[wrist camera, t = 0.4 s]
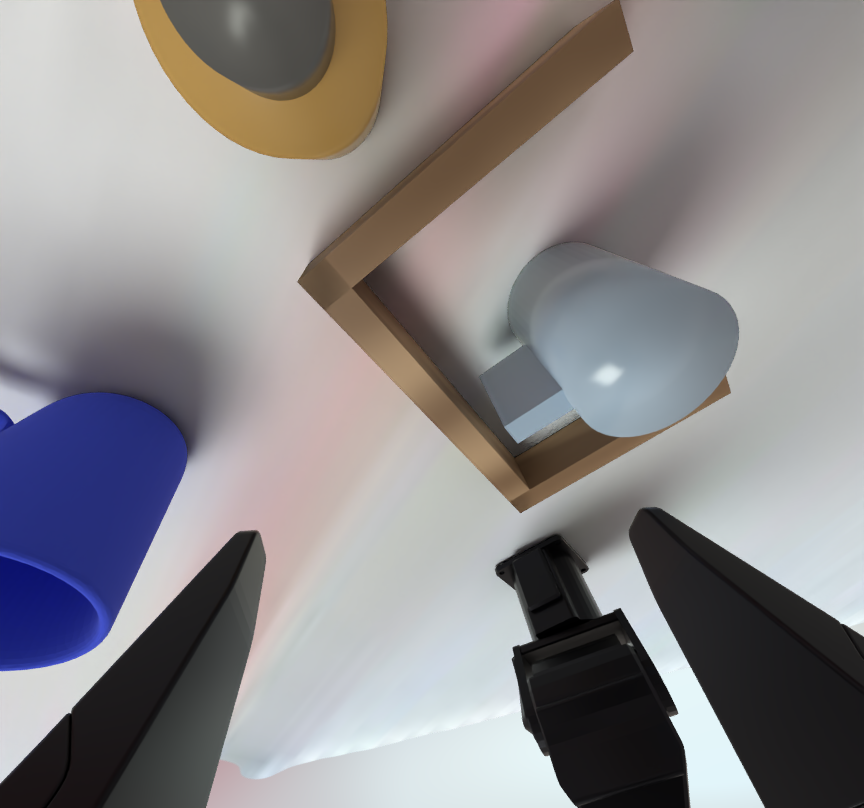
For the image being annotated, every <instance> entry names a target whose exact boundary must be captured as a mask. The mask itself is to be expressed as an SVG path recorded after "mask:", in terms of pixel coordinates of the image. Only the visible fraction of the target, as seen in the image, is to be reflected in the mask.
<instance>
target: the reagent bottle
mask: <svg viewBox="0 0 864 808" xmlns="http://www.w3.org/2000/svg"><path fill="white" fill-rule="evenodd" d="M134 4H135V7H136V10H137V13H138V16H139V19H140V22H141V25H142V28H143V30H144V32H145V35H146V37H147V39H148V41H149V44H150V46H151V48H152V50H153V52H154V54H155V56H156V58H157V59H158V61H159V63H160V65H161V67H162V69H163V70H164V72H165V73H166V75H167V76H168V78H169V79H170V81H171V82H172V84H173V85H174V87H175V88H176V89H177V91H178V92H179V93H180V94H181V96H182V97H183V98H184V99H185V100H186V102H187V103H188V104H189V105H190V106H191V107H192V108H193V109H194V110H195V111H196V112H197V113H198V114H199V115H200V117H201V118H203V119H204V120H205V121H206V122H207V123H208V124H210V125H211V126H212V127H213V128H214V129H215V130H217V131H218V132H220V133H221V134H223V135H224V136H226V137H227V138H228V139H230V140H232V141H233V142H235V143H237V144H239V145H241V146H243V147H245V148H247V149H250V150H252V151H255V152H257V153H260V154H264V155H268V156H272V157H278V158H289V159H316V160H328V159H335V158H339V157H342V156H344V155H347V154H348V153H350V152H352V151H353V150H355V149H356V148H357V147H358V146H359V145H360V144H361V143H362V142H363V141H364V140H365V139H366V137H367V136H368V134H369V133H370V131H371V129H372V127H373V125H374V123H375V120H376V117H377V114H378V110H379V105H380V98H381V90H382V82H383V73H384V65H385V57H386V48H387V12H386V0H134Z"/></svg>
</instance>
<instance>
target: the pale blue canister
mask: <svg viewBox="0 0 864 808" xmlns="http://www.w3.org/2000/svg"><path fill="white" fill-rule="evenodd" d="M508 320H509V324H510V327H511V330H512V332H513V333H514V335H515V336H516V338H517V339H518V340H519V342H520V343H521V344H522V345H523V346H522V347H521V348H519V349H518V350H516V351H515V352H513V353H512V354H510V355H509V356H508V357H506V358H505V359H503V360H502V361H500V362H499V363H497V364H496V365H495V366H493V367H492V368H490V369H489V370H487V371H486V372H484V373H483V374H482V375H480V376H479V377H480V379H481V381H482V383H483V385H484V387H485V390H486V392H487V394H488V396H489V398H490V400H491V402H492V404H493V406H494V408H495V410H496V412H497V414H498V416H499V418H500V420H501V422H502V424H503V426H504V428H505V429H506V430H507V431H508V432H509V434H510V435H511V436H512V437H513V439H514V440H515V441H516V442H517V443H520V442H521V441H523V440H525V439H526V438H528V437H529V436H531V435H533V434H534V433H536V432H537V431H539V430H541V429H542V428H544V427H545V426H547V425H549V424H550V423H552V422H553V421H555V420H557V419H558V418H560V417H561V416H563V415H565V414H566V413H568V412H569V411H571V410H573V409H575V410H576V411H577V413H578V414H579V415H580V416H581V418H582V419H583V420H584V421H585V422H586V423H587V424H588V425H589V426H590V427H591V428H593V429H594V430H596V431H598V432H600V433H602V434H605V435H609V436H614V437H634V436H641V435H645V434H649V433H652V432H655V431H658V430H661V429H663V428H665V427H668V426H670V425H672V424H673V423H675V422H677V421H679V420H680V419H682V418H684V417H685V416H687V415H688V414H689V413H691V412H692V411H693V410H695V409H696V408H697V407H698V406H699V405H701V404H702V403H703V402H704V401H705V400H706V399H707V398H708V397H709V396H710V395H711V394H712V393H713V391H714V390H715V389H716V388H717V387H718V385H719V384H720V382H721V381H722V380H723V378H724V377H725V375H726V373H727V371H728V370H729V368H730V366H731V364H732V361H733V359H734V356H735V353H736V350H737V345H738V340H739V327H738V320H737V317H736V314H735V312H734V310H733V308H732V307H731V305H730V304H729V303H728V302H727V301H726V300H725V299H724V298H723V297H721V296H720V295H719V294H717V293H715V292H712V291H710V290H707V289H705V288H702V287H700V286H697V285H694V284H692V283H689V282H687V281H684V280H681V279H679V278H676V277H673V276H671V275H668V274H666V273H663V272H660V271H658V270H655V269H653V268H650V267H647V266H645V265H642V264H639V263H637V262H634V261H632V260H629V259H626V258H624V257H621V256H619V255H616V254H613V253H611V252H608V251H605V250H603V249H600V248H598V247H595V246H592V245H590V244H586V243H582V242H567V243H562V244H558V245H555V246H553V247H550V248H548V249H546V250H544V251H543V252H541V253H540V254H538V255H537V256H536V257H534V258H533V259H532V260H531V261H530V262H529V263H528V264H527V265H526V266H525V267H524V269H523V270H522V271H521V272H520V274H519V275H518V277H517V279H516V280H515V282H514V285H513V287H512V289H511V292H510V296H509V301H508Z"/></svg>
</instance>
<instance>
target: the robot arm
mask: <svg viewBox="0 0 864 808" xmlns="http://www.w3.org/2000/svg"><path fill="white" fill-rule="evenodd" d="M629 538H630V541H631V543H632V546H633V548H634V550H635V553H636V555H637V558H638V560H639V562H640V565H641V567H642V570H643V572H644V574H645V577H646V579H647V582H648V584H649V586H650V589H651V591H652V593H653V595H654V598H655V600H656V602H657V604H658V606H659V608H660V610H661V612H662V614H663V615H664V617H665V619H666V621H667V623H668V625H669V627H670V629H671V631H672V633H673V634H674V636H675V638H676V640H677V642H678V644H679V646H680V648H681V650H682V651H683V653H684V655H685V657H686V659H687V661H688V663H689V665H690V667H691V668H692V670H693V672H694V673H695V676H696V678H697V680H698V682H699V683H700V685H701V687H702V689H703V691H704V693H705V695H706V697H707V699H708V700H709V702H710V704H711V706H712V708H713V710H714V712H715V714H716V716H717V718H718V720H719V721H720V723H721V725H722V727H723V729H724V731H725V733H726V735H727V736H728V739H729V740H730V742H731V744H732V746H733V748H734V750H735V752H736V754H737V756H738V757H739V759H740V761H741V763H742V765H743V766H744V769H745V770H746V773H747V774H748V776H749V778H750V780H751V782H752V784H753V786H754V788H755V789H756V791H757V793H758V795H759V797H760V799H761V801H762V803H763V804H764V807H765V808H864V637H863V636H862V635H860V634H859V633H857V632H855V631H854V630H852V629H851V628H849V627H848V626H846V625H844V624H840V622H839V621H838V620H836V619H835V618H833V617H832V616H830V615H828V614H827V613H825V612H824V611H822V610H820V609H819V608H817V607H816V606H814V605H813V604H811V603H809V602H808V601H806V600H805V599H803V598H801V597H800V596H798V595H797V594H795V593H794V592H792V591H790V590H789V589H787V588H786V587H784V586H782V585H781V584H779V583H778V582H776V581H775V580H773V579H771V578H770V577H768V576H767V575H765V574H763V573H762V572H760V571H759V570H757V569H755V568H754V567H752V566H751V565H749V564H748V563H746V562H744V561H743V560H741V559H740V558H738V557H736V556H735V555H733V554H732V553H730V552H729V551H727V550H725V549H724V548H722V547H721V546H719V545H717V544H716V543H714V542H713V541H711V540H710V539H708V538H706V537H705V536H703V535H702V534H700V533H698V532H697V531H695V530H694V529H692V528H690V527H689V526H687V525H686V524H684V523H683V522H681V521H679V520H678V519H676V518H675V517H673V516H671V515H670V514H668V513H667V512H665V511H664V510H662V509H660V508H657V507H648V508H641V509H640V510H639V511H638V513H637V515H636V517H635V519H634V521H633V523H632V525H631V527H630V529H629ZM265 564H266V554H265V550H264V546H263V543H262V539H261V535H260V533H259V532H258V531H257V530H251V531H240V532H238V533H236V534H235V535H234V536H233V537H232V538H231V539H230V540H229V541H228V542H227V543H226V544H225V546H224V547H223V548H222V549H221V550H220V551H219V552H218V553H217V554H216V555H215V556H214V557H213V558H212V559H211V560H210V562H209V563H208V564H207V565H206V566H205V567H204V568H203V569H202V570H201V571H200V572H199V573H198V574H197V575H196V577H195V578H194V579H193V580H192V581H191V582H190V583H189V584H188V585H187V586H186V587H185V588H184V589H183V590H182V591H181V593H180V594H179V595H178V596H177V597H176V598H175V599H174V600H173V601H172V602H171V603H170V604H169V605H168V606H167V608H166V609H165V610H164V611H163V612H162V613H161V614H160V615H159V616H158V617H157V618H156V619H155V620H154V621H153V622H152V624H151V625H150V626H149V627H148V628H147V629H146V630H145V631H144V632H143V633H142V634H141V635H140V636H139V637H138V639H137V640H136V641H135V642H134V643H133V644H132V645H131V646H130V647H129V648H128V649H127V650H126V651H125V652H124V653H123V655H122V656H121V657H120V658H119V659H118V660H117V661H116V662H115V663H114V664H113V665H112V666H111V667H110V668H109V670H108V671H107V672H106V673H105V674H104V675H103V676H102V677H101V678H100V679H99V680H98V681H97V682H96V683H95V684H94V686H93V687H92V688H91V689H90V690H89V691H88V692H87V693H86V694H85V695H84V696H83V697H82V698H81V699H80V701H79V702H78V703H77V704H76V705H75V706H74V707H73V708H72V711H71V713H68V714H66V715H65V716H64V717H63V718H62V719H61V721H60V722H59V723H58V724H57V725H56V726H55V727H54V728H53V729H52V730H51V731H50V732H49V733H48V734H47V736H46V737H45V738H44V739H43V740H42V741H41V742H40V743H39V744H38V745H37V746H36V747H35V748H34V749H33V750H32V751H31V752H30V753H29V754H28V755H27V756H26V757H25V758H24V760H23V761H22V762H21V763H20V764H19V765H18V766H17V767H16V768H15V769H14V770H13V771H12V772H11V773H10V774H9V775H8V776H7V777H6V778H5V779H4V780H3V781H2V782H1V783H0V808H206V806H207V802H208V798H209V795H210V791H211V788H212V784H213V781H214V777H215V773H216V770H217V766H218V762H219V759H220V756H221V752H222V748H223V745H224V741H225V738H226V734H227V731H228V727H229V723H230V720H231V716H232V713H233V709H234V705H235V702H236V698H237V695H238V691H239V688H240V684H241V680H242V677H243V673H244V670H245V666H246V663H247V659H248V655H249V652H250V648H251V644H252V640H253V635H254V630H255V624H256V618H257V612H258V606H259V600H260V595H261V589H262V583H263V577H264V571H265ZM588 569H589V568H588V566H587V564H586V563H585V562H584V561H583V560H582V559H581V557H580V556H579V555H578V554H577V553H576V552H575V551H574V550H573V549H572V548H571V546H570V545H569V544H568V543H567V542H566V541H565V540H564V539H563V538H562V537H561V536H560V535H555V536H553V537H551V538H549V539H547V540H546V541H544V542H542V543H540V544H538V545H536V546H535V547H533V548H531V549H529V550H527V551H525V552H523V553H522V554H520V555H518V556H516V557H514V558H512V559H511V560H509V561H507V562H505V563H503V564H501V565H499V566H498V567H496V569H495V571H496V575H497V576H498V577H500V578H501V579H502V580H503V581H505V582H506V583H507V584H508V585H510V586H511V587H512V588H513V589H515V590H516V592H517V595H518V598H519V601H520V604H521V607H522V610H523V613H524V616H525V619H526V622H527V625H528V628H529V631H530V634H531V637H532V640H533V641H532V642H530V643H527V644H524V645H521V646H520V645H517V646H515V647H513V652H514V657H513V658H512V662H513V666H514V669H515V673H516V677H517V681H518V686H519V694H520V703H521V712H522V720H523V724H524V727H525V729H526V730H528V731H529V732H530V733H532V734H533V736H534V738H535V740H536V742H537V743H538V745H539V747H540V749H541V751H542V753H543V754H544V756H549V755H550V758H551V761H552V764H553V767H554V770H555V773H556V776H557V779H558V782H559V784H560V786H561V788H562V789H563V790H564V792H565V793H566V794H567V796H568V797H569V798H570V800H571V801H572V802H573V803H574V805H575V806H577V807H578V808H690V798H689V786H688V775H687V763H686V757H685V750H684V746H683V743H682V741H681V739H680V737H679V735H678V733H677V731H676V729H675V728H674V726H673V724H672V722H671V720H670V718H669V716H670V717H671V716H674V715H677V714H678V711H677V708H676V706H675V704H674V702H673V700H672V698H671V696H670V694H669V692H668V690H667V688H666V686H665V684H664V683H663V680H662V678H661V676H660V675H659V673H658V671H657V669H656V667H655V666H654V664H653V662H652V660H651V659H650V657H649V655H648V654H647V652H646V650H645V649H644V647H643V645H642V644H641V642H640V640H639V638H638V637H637V635H636V633H635V632H634V630H633V628H632V627H631V625H630V623H629V622H628V620H627V618H626V617H625V615H624V613H623V612H622V610H621V608H619V609H616V610H613V611H614V612H612V613H609V614H606V615H604V616H602V614H601V612H600V610H599V608H598V606H597V604H596V602H595V600H594V598H593V596H592V594H591V592H590V590H589V588H588V586H587V584H586V582H585V580H584V578H583V576H582V574H583V573H585V572H587V571H588Z"/></svg>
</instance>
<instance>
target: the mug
mask: <svg viewBox="0 0 864 808" xmlns="http://www.w3.org/2000/svg"><path fill="white" fill-rule="evenodd" d="M186 463H187V447H186V443H185V440H184V438H183V436H182V434H181V432H180V430H179V429H178V428H177V426H176V425H175V424H174V423H173V422H172V421H171V420H170V419H169V418H168V417H167V416H166V415H164V414H163V413H162V412H160V411H159V410H158V409H156V408H154V407H152V406H151V405H149V404H147V403H145V402H142V401H140V400H137V399H135V398H132V397H128V396H124V395H120V394H114V393H103V392H95V393H84V394H78V395H73V396H70V397H67V398H64V399H61V400H59V401H56V402H54V403H52V404H50V405H48V406H46V407H44V408H42V409H41V410H39V411H37V412H35V413H33V414H32V415H30V416H28V417H26V418H25V419H23V420H21V421H20V422H18V423H16V424H14V423H13V421H12V420H11V419H10V417H9V416H8V415H7V414H6V413H5V412H3V411H2V410H0V671H14V670H27V669H34V668H41V667H47V666H51V665H56V664H60V663H64V662H67V661H69V660H72V659H75V658H77V657H79V656H82V655H84V654H86V653H88V652H89V651H91V650H92V649H94V648H95V647H97V646H98V645H99V644H100V643H101V642H102V641H103V640H104V639H105V637H106V636H107V635H108V633H109V632H110V630H111V628H112V626H113V624H114V622H115V620H116V617H117V615H118V613H119V611H120V609H121V607H122V605H123V602H124V600H125V598H126V596H127V594H128V592H129V590H130V588H131V585H132V583H133V581H134V579H135V577H136V575H137V573H138V570H139V568H140V566H141V564H142V562H143V560H144V558H145V556H146V553H147V551H148V549H149V547H150V545H151V543H152V541H153V538H154V536H155V534H156V532H157V530H158V528H159V526H160V524H161V521H162V519H163V517H164V515H165V513H166V511H167V509H168V506H169V504H170V502H171V500H172V498H173V496H174V494H175V492H176V489H177V487H178V485H179V483H180V481H181V479H182V476H183V474H184V471H185V467H186Z"/></svg>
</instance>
